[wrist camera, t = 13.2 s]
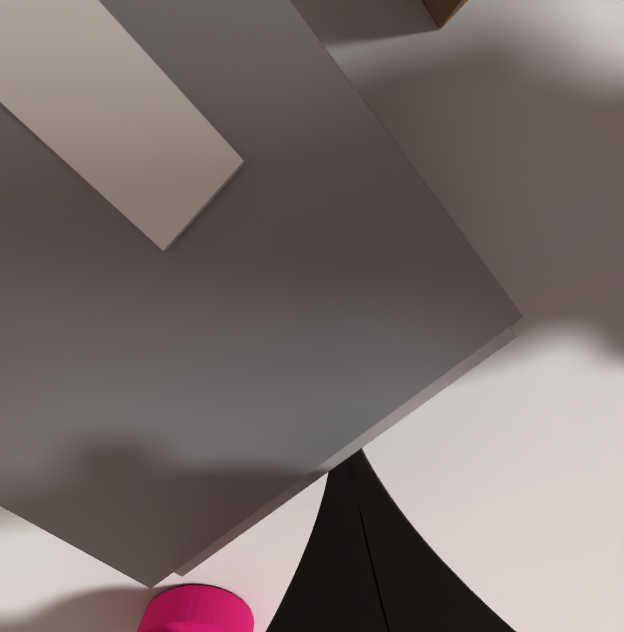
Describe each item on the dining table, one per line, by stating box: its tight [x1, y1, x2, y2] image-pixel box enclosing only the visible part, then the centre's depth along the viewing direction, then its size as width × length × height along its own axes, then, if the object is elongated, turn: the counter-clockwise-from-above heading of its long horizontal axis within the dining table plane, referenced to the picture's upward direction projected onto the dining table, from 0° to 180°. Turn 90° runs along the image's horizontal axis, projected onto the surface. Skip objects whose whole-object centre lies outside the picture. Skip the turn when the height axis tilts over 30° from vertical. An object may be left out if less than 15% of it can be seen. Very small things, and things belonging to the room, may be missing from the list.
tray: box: [174, 327, 517, 576], centre depth 9 cm, size 14×14×3 cm
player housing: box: [0, 0, 523, 588], centre depth 8 cm, size 14×14×4 cm
